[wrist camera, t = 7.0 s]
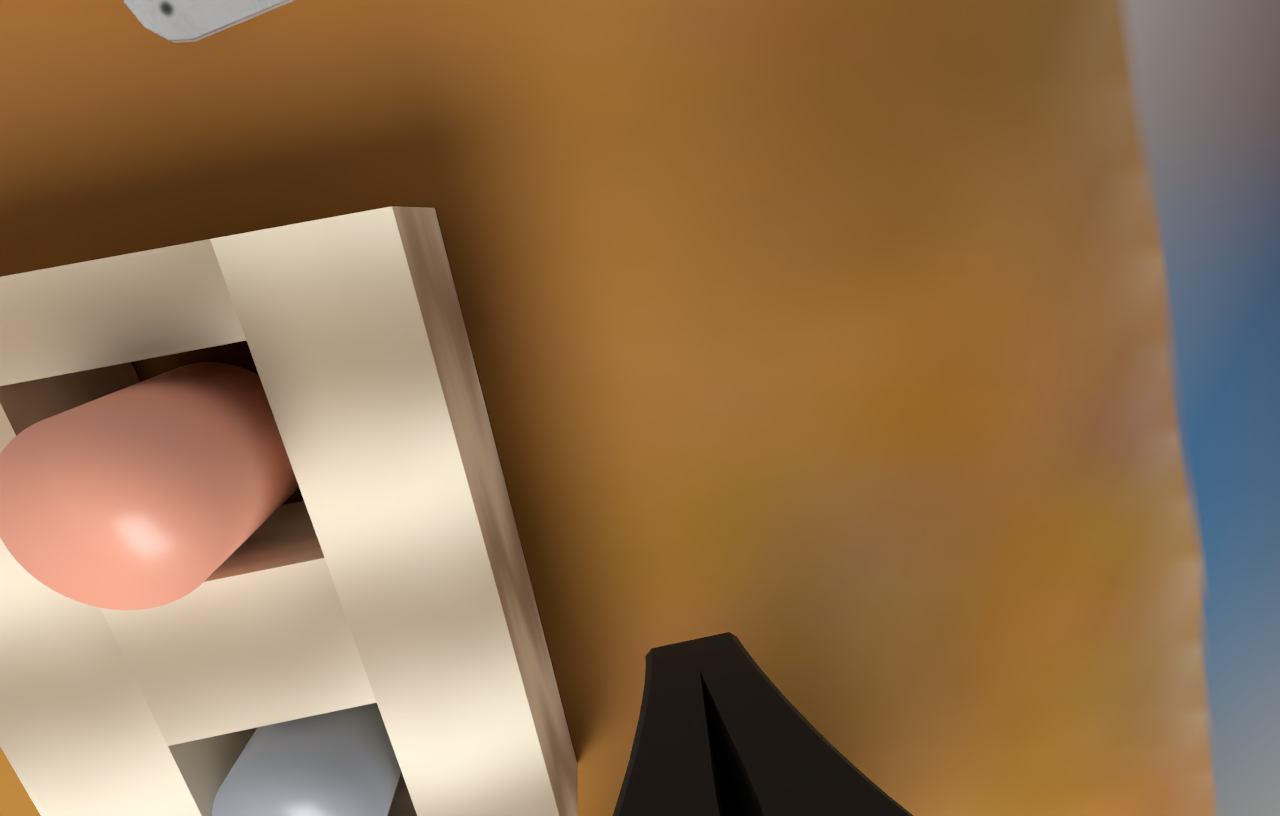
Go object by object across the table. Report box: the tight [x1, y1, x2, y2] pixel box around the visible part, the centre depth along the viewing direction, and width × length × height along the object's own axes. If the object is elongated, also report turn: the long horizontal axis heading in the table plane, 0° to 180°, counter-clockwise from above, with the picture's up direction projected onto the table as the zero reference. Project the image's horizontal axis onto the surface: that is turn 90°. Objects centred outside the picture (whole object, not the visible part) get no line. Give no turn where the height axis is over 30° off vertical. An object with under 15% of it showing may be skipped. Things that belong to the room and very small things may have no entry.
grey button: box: [212, 703, 401, 816], centre depth 18 cm, size 4×4×4 cm
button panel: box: [0, 206, 577, 816], centre depth 17 cm, size 18×12×4 cm, turn 10°
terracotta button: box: [0, 362, 299, 610], centre depth 14 cm, size 4×4×4 cm
